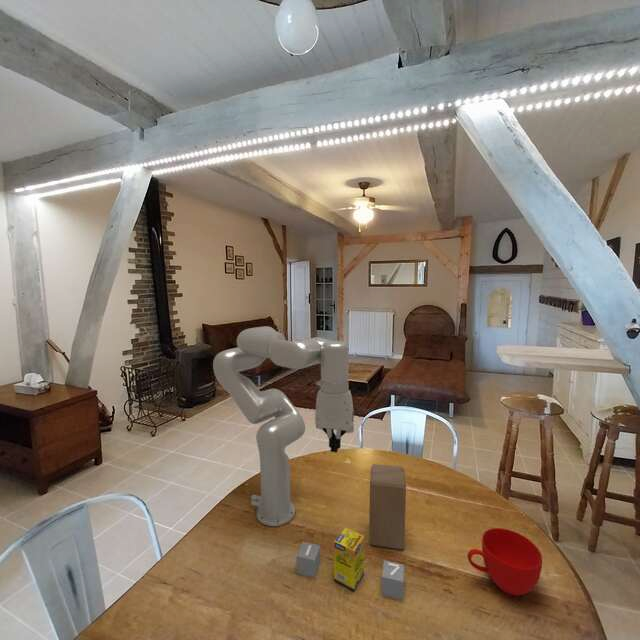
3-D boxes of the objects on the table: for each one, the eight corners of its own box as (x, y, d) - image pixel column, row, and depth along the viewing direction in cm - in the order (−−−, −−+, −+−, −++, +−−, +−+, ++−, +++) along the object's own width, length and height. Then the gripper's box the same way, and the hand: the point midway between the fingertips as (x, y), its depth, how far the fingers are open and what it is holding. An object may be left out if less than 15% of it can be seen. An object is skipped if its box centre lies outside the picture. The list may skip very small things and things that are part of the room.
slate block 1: (296, 573, 86) (296, 555, 85) (302, 558, 90) (302, 541, 90) (314, 578, 84) (314, 559, 84) (320, 562, 89) (320, 544, 89)
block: (404, 551, 92) (406, 485, 90) (368, 546, 94) (369, 480, 92) (403, 526, 102) (404, 465, 100) (370, 522, 104) (371, 462, 102)
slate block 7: (381, 595, 80) (381, 575, 79) (383, 577, 84) (383, 559, 84) (402, 601, 78) (403, 581, 78) (403, 582, 83) (404, 564, 82)
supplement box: (354, 592, 80) (354, 551, 79) (333, 581, 83) (333, 541, 82) (364, 574, 85) (365, 535, 84) (344, 564, 88) (344, 526, 87)
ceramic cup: (457, 561, 89) (458, 527, 88) (520, 562, 89) (522, 528, 88) (478, 607, 76) (480, 568, 75) (552, 609, 76) (555, 569, 75)
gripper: (304, 388, 88) (305, 453, 90) (359, 392, 84) (359, 460, 86) (312, 380, 95) (313, 440, 97) (364, 384, 91) (363, 447, 93)
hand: (334, 449), depth 92 cm, fingers closed
